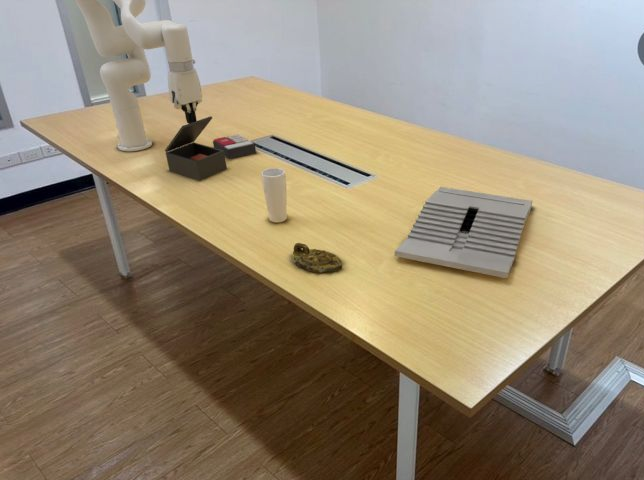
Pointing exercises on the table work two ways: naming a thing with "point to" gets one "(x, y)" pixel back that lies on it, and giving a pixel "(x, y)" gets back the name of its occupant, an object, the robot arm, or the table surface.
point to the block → (198, 157)
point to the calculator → (234, 146)
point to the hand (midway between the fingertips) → (192, 123)
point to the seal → (315, 259)
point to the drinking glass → (275, 193)
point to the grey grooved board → (467, 231)
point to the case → (194, 169)
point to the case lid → (188, 133)
